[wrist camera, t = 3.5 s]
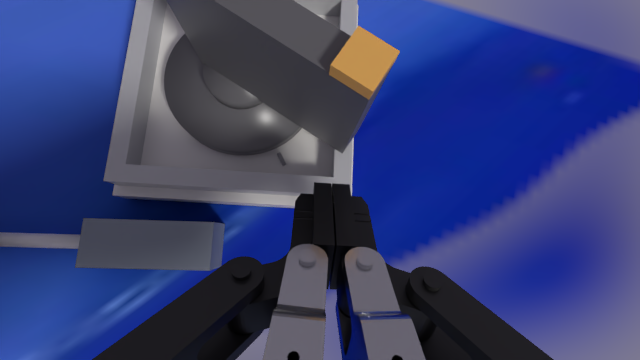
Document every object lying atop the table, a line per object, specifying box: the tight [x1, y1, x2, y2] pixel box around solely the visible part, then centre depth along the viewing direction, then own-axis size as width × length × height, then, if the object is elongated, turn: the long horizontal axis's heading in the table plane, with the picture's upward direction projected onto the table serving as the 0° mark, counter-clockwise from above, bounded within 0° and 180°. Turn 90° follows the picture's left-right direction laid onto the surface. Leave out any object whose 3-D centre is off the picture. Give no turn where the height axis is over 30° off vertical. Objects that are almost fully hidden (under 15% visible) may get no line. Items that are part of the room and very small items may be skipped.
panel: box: [103, 0, 358, 208], centre depth 20 cm, size 14×14×3 cm
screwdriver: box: [0, 218, 225, 271], centre depth 18 cm, size 14×3×3 cm, turn 88°
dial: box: [164, 0, 400, 155], centre depth 15 cm, size 12×9×9 cm
